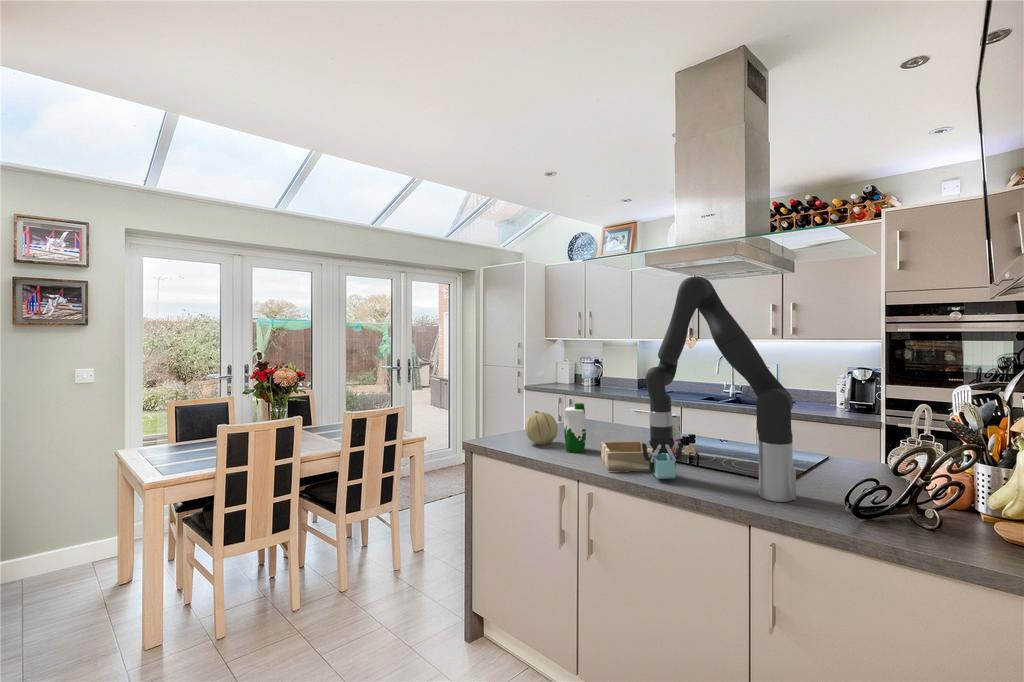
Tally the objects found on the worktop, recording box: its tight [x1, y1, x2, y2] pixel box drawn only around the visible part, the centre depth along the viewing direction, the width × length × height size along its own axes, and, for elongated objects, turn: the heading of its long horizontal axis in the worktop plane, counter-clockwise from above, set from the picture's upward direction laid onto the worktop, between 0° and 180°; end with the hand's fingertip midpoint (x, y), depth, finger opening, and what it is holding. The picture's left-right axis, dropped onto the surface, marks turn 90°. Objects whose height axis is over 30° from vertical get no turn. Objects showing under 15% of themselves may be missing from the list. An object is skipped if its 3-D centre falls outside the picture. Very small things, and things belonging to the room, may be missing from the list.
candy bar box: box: [650, 413, 681, 456], centre depth 207 cm, size 11×5×16 cm, turn 105°
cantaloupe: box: [525, 410, 559, 445], centre depth 233 cm, size 15×15×15 cm
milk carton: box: [563, 402, 587, 453], centre depth 220 cm, size 9×9×20 cm
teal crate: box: [650, 453, 676, 480], centre depth 179 cm, size 10×6×6 cm, turn 178°
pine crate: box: [600, 440, 652, 472], centre depth 196 cm, size 17×16×7 cm
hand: (662, 471), depth 179 cm, fingers closed on teal crate, 6 cm apart
